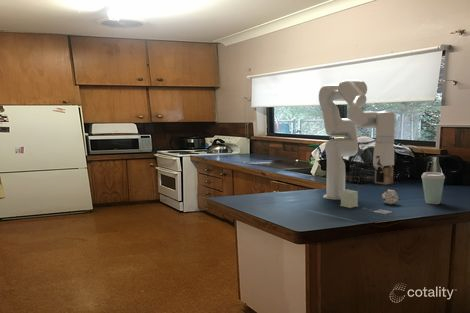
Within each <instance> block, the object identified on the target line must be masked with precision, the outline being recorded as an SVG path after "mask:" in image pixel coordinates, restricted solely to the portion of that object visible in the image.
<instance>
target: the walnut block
mask: <svg viewBox="0 0 470 313" xmlns="http://www.w3.org/2000/svg"><path fill="white" fill-rule="evenodd" d="M380 169H381V167H380ZM383 173H384V182H376V170H375V169H374V184H380V185H390V184H394V166H393V167H385V166H384V169H383Z"/></svg>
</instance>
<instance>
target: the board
mask: <svg viewBox="0 0 470 313" xmlns="http://www.w3.org/2000/svg"><path fill="white" fill-rule="evenodd" d="M339 206H340V207H342V206H341V204H340V205H339ZM343 207H345V208H347V207H346V206H343ZM356 207H358V206H355V207H348V208H349V209H352V208H356ZM365 209H366V210H368V211H369V212H370V211H372V212H373V213H375V214H379V215H384V216H385V215H389V214H392V213H394V212H393V211H391V210H386V209H377V210H374V211H373V210H372V209H368V208H366V207H362V210H365Z"/></svg>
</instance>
